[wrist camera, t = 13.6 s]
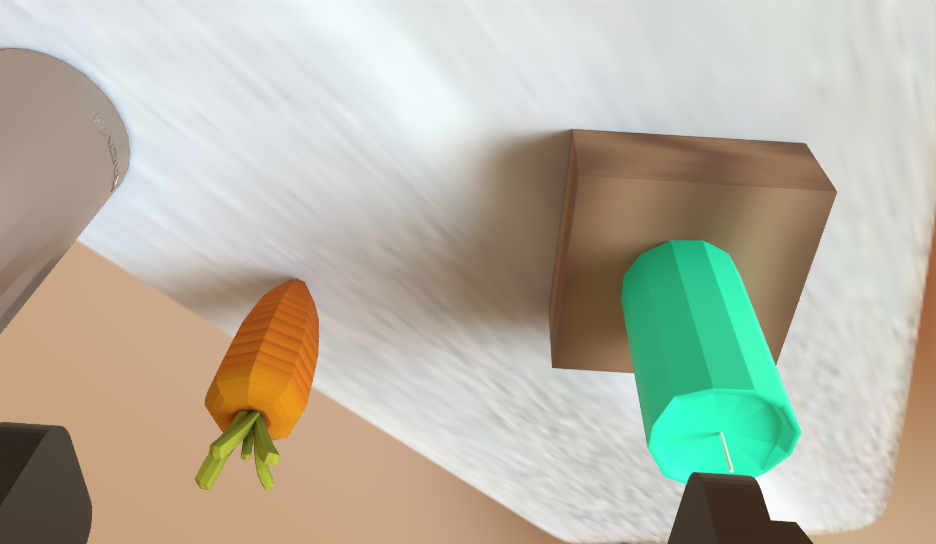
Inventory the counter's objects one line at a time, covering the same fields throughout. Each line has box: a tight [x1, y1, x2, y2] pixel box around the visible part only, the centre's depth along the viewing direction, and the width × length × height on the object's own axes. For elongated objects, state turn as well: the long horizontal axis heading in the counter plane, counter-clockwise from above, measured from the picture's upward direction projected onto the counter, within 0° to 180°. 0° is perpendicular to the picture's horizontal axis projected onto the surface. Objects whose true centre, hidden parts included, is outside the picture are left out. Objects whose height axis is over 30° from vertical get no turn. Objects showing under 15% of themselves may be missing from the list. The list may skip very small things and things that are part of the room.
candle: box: [621, 240, 801, 484], centre depth 37 cm, size 6×6×12 cm
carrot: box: [195, 279, 319, 490], centre depth 43 cm, size 5×5×15 cm
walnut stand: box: [549, 129, 837, 373], centre depth 43 cm, size 12×12×5 cm
